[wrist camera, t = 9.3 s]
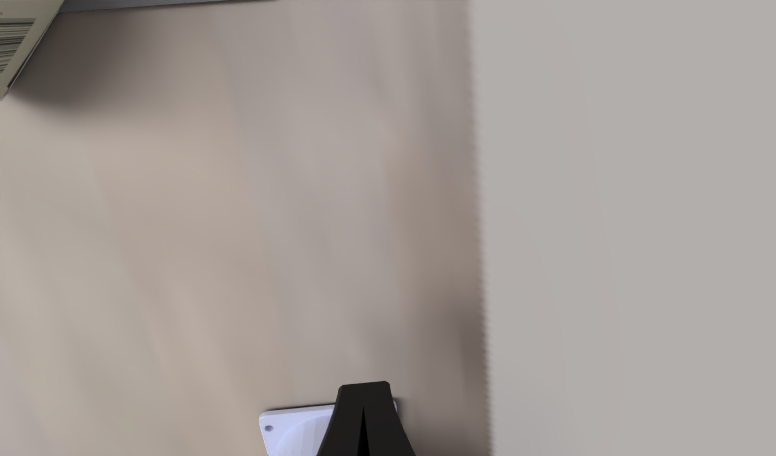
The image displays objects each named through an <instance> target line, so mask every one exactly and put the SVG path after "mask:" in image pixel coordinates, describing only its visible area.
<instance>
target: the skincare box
mask: <svg viewBox="0 0 776 456" xmlns="http://www.w3.org/2000/svg"><path fill="white" fill-rule="evenodd" d="M64 1H65V0H0V101H2V100H3V99H4V98H5V96H6V95H7V94H8V92H9V90H10V89H11V87H12V85H13V84H14V82H15V80H16V79H17V77H18V76H19V74H20V72H21V71H22V69H23V68H24V66H25V64H26V63H27V61H28V60H29V58H30V57H31V55H32V53H33V51H34V50H35V48H36V47H37V45H38V44H39V42H40V40H41V39H42V37H43V35H44V34H45V32H46V31H47V29H48V27H49V26H50V24H51V22H52V21H53V19H54V18H55V16H56V14H57V13H58V11H59V9H60V8H61V6H62V5H63V3H64Z"/></svg>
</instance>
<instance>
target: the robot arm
mask: <svg viewBox="0 0 776 456" xmlns="http://www.w3.org/2000/svg"><path fill="white" fill-rule="evenodd" d="M259 424H260V428H261V432H262V435H263V439H264V443H265V446H266V450H267V454H268V456H416V455H415V453H414V451H413V449H412V447H411V445H410V443H409V440H408V438H407V436H406V434H405V432H404V429H403V427H402V424H401V422H400V419H399V417H398V414H397V405H396V402H395V401H393V398H392V394H391V390H390V384H389V383H388V382H386V381H379V382H369V383H359V384H349V385H342V386H341V387H340V388H339V390H338V395H337V399H336V403H335V405H325V406H315V407H305V408H295V409H285V410H275V411H266V412H263V413H262V414H261V415H260V418H259ZM268 425H271V426H268Z"/></svg>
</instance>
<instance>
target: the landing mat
mask: <svg viewBox="0 0 776 456" xmlns="http://www.w3.org/2000/svg"><path fill="white" fill-rule="evenodd" d="M213 1H227V0H65V1H64V3H63V5H62V6H61V8H60V9H59V11H58V13H61V12H75V11H89V10H103V9H117V8H130V7H144V6H158V5H172V4H186V3H200V2H213Z"/></svg>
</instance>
